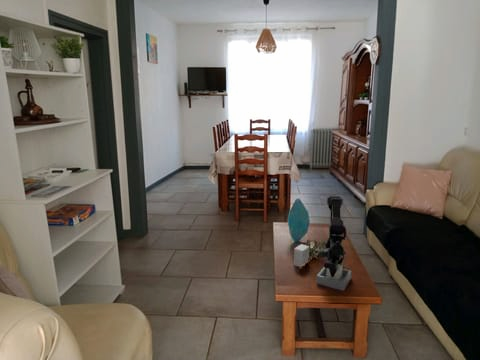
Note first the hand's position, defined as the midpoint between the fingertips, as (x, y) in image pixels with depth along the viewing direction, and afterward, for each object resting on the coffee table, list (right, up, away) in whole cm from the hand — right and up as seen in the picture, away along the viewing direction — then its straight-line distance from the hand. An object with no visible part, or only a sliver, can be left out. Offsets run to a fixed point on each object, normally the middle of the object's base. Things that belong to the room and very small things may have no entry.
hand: (334, 274), depth 187 cm
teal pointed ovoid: (-11, +8, +50) cm, 52 cm away
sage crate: (0, -1, 0) cm, 2 cm away
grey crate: (0, -4, +1) cm, 4 cm away
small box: (-14, 0, +20) cm, 24 cm away
